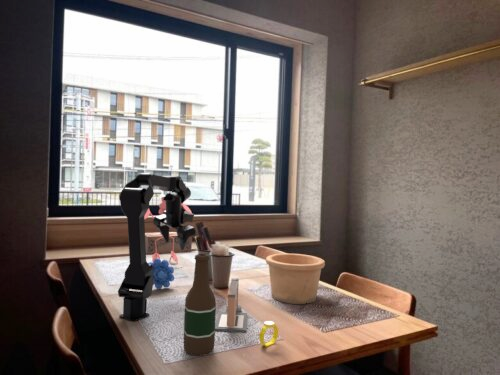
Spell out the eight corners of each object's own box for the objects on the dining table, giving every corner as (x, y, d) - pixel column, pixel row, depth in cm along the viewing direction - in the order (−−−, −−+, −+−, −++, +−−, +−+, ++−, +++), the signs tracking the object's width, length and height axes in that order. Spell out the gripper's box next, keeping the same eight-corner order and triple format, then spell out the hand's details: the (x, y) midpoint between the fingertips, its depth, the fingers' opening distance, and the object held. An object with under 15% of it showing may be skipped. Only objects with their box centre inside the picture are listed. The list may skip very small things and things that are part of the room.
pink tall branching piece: (136, 265, 181) (139, 193, 180) (182, 260, 199) (185, 193, 197) (151, 273, 170) (155, 195, 169) (199, 266, 187) (202, 195, 186)
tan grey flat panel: (230, 304, 126) (231, 278, 126) (237, 305, 126) (238, 278, 126) (226, 325, 108) (227, 294, 107) (234, 326, 108) (235, 294, 107)
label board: (220, 307, 127) (221, 304, 127) (247, 308, 127) (247, 305, 127) (214, 330, 108) (214, 326, 108) (245, 332, 108) (246, 327, 107)
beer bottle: (215, 343, 100) (218, 252, 99) (213, 356, 92) (216, 258, 91) (185, 342, 99) (188, 251, 99) (180, 356, 92) (184, 257, 91)
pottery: (325, 292, 150) (326, 256, 150) (320, 310, 129) (322, 268, 128) (271, 286, 156) (273, 251, 155) (258, 302, 134) (260, 262, 134)
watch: (265, 350, 97) (264, 328, 97) (257, 347, 99) (257, 324, 99) (280, 342, 101) (280, 320, 101) (272, 339, 103) (272, 317, 103)
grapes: (146, 293, 139) (147, 261, 139) (142, 288, 145) (143, 257, 145) (177, 290, 145) (178, 259, 144) (172, 285, 151) (173, 255, 150)
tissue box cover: (183, 247, 235) (184, 231, 235) (191, 252, 222) (191, 235, 222) (141, 249, 223) (142, 233, 223) (147, 254, 210) (147, 236, 210)
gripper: (206, 209, 141) (206, 246, 146) (174, 196, 152) (175, 231, 157) (183, 218, 133) (184, 257, 138) (151, 203, 144) (153, 240, 149)
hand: (174, 245), depth 146 cm, fingers open, 9 cm apart
